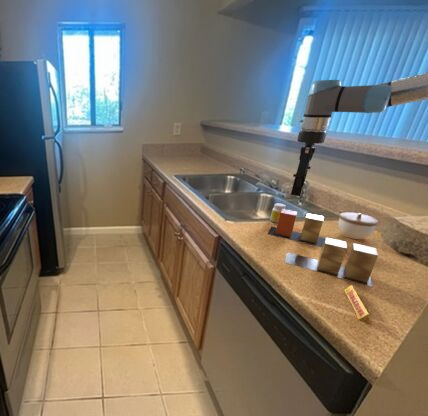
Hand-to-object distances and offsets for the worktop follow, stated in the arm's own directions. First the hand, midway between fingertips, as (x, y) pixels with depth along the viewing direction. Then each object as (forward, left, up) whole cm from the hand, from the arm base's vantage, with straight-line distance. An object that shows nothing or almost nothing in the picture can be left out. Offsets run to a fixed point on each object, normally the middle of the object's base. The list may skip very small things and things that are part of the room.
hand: (297, 190), depth 100 cm
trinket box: (-20, -14, -19) cm, 31 cm away
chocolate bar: (-19, +35, -19) cm, 44 cm away
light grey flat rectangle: (-13, +19, -18) cm, 29 cm away
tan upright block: (-13, +19, -18) cm, 29 cm away
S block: (+1, -1, -18) cm, 18 cm away
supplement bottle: (+5, -11, -19) cm, 22 cm away
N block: (-20, +19, -18) cm, 33 cm away
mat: (-3, -1, -18) cm, 19 cm away
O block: (-7, -1, -18) cm, 19 cm away
